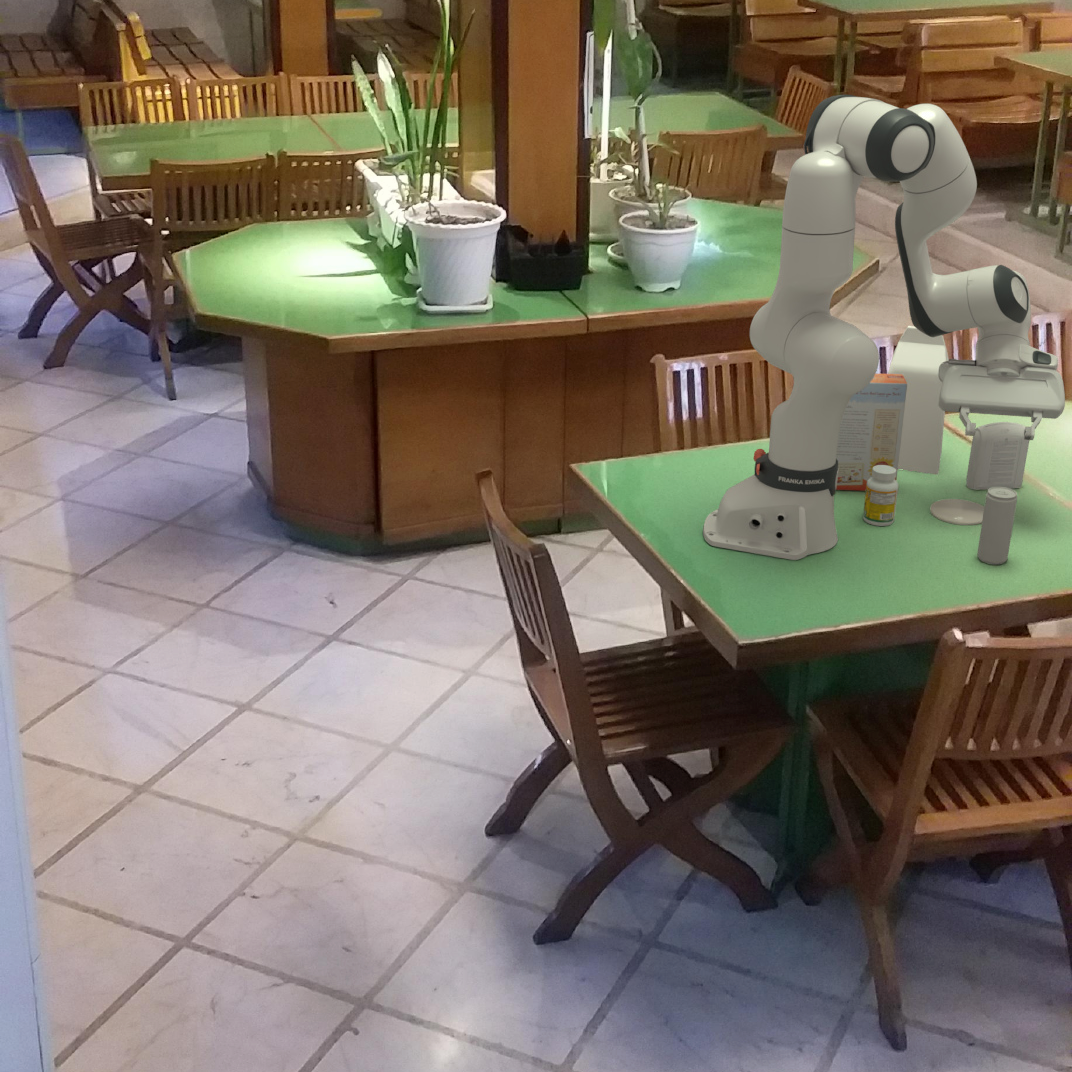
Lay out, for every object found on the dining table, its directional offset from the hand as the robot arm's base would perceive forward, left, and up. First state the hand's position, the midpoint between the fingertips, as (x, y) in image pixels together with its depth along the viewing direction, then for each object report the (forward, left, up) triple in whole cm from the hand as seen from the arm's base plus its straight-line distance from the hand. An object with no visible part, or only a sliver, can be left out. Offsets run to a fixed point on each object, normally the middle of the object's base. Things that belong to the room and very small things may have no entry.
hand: (999, 436), depth 243 cm
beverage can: (0, -13, -17) cm, 21 cm away
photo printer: (+3, +19, -17) cm, 26 cm away
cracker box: (-22, +14, -17) cm, 31 cm away
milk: (-12, +29, -17) cm, 36 cm away
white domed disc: (-4, +5, -17) cm, 18 cm away
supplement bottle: (-18, -1, -17) cm, 25 cm away
